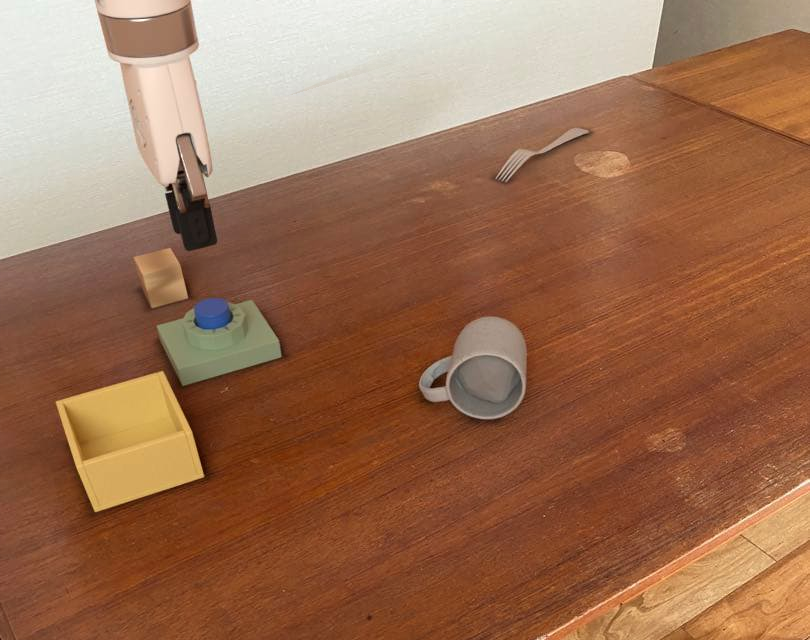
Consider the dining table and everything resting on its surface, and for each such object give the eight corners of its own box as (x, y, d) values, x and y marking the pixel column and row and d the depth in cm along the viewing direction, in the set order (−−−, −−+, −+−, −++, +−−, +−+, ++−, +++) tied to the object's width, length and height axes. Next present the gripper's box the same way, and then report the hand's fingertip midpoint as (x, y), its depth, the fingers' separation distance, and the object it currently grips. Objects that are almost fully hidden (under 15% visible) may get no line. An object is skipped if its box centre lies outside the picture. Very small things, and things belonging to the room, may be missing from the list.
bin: (95, 512, 78) (76, 467, 74) (73, 446, 84) (55, 401, 80) (204, 477, 81) (192, 431, 76) (175, 415, 87) (163, 370, 83)
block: (151, 308, 101) (142, 274, 97) (142, 290, 103) (133, 256, 100) (188, 298, 102) (180, 264, 99) (178, 281, 104) (170, 247, 101)
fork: (589, 149, 132) (592, 130, 130) (508, 183, 120) (511, 162, 118) (573, 144, 133) (576, 125, 131) (492, 177, 121) (494, 157, 119)
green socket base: (182, 386, 90) (173, 354, 87) (160, 342, 96) (152, 310, 93) (282, 357, 93) (276, 325, 90) (255, 316, 99) (249, 285, 96)
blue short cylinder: (202, 334, 90) (199, 319, 89) (193, 317, 92) (189, 303, 91) (235, 325, 91) (232, 310, 90) (225, 308, 93) (222, 294, 92)
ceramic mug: (525, 372, 90) (529, 307, 84) (523, 422, 84) (528, 356, 79) (423, 369, 91) (421, 304, 86) (415, 418, 86) (412, 353, 80)
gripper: (84, 10, 76) (138, 212, 89) (127, 69, 65) (180, 287, 79) (168, -4, 78) (208, 196, 91) (222, 51, 67) (259, 266, 81)
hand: (195, 236), depth 85 cm, fingers open, 3 cm apart
